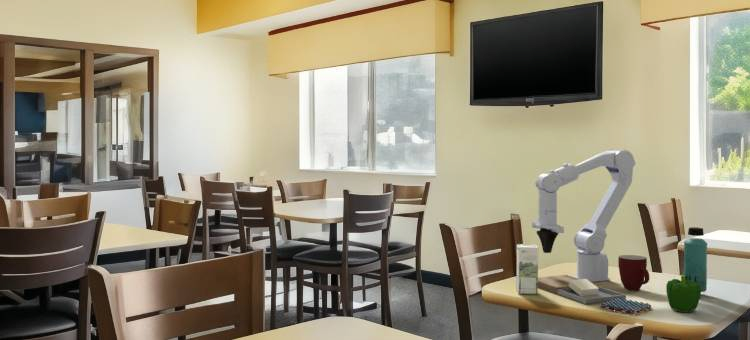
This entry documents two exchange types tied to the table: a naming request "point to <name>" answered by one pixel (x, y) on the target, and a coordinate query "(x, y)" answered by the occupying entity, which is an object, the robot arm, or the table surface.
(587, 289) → the tile
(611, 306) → the woven mat
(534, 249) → the syrup box
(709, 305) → the table surface
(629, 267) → the mug
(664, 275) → the table surface
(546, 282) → the brown square board
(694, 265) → the beverage bottle
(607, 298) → the tray
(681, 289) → the bell pepper
